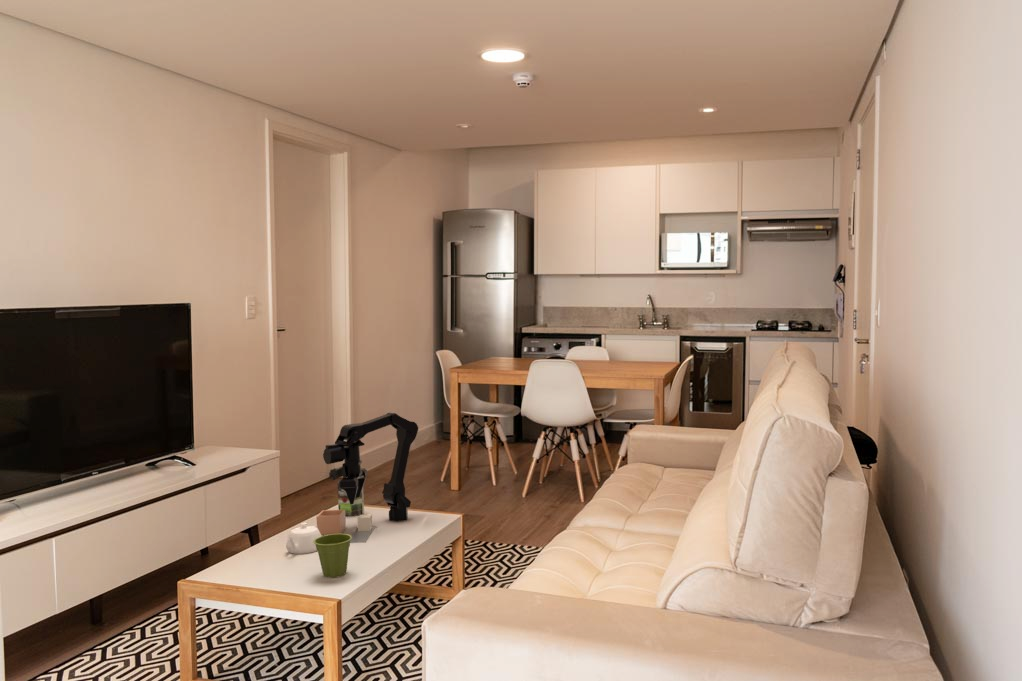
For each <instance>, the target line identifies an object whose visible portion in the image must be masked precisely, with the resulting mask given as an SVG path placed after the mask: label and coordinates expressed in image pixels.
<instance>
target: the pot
mask: <svg viewBox="0 0 1022 681" xmlns="http://www.w3.org/2000/svg"><path fill="white" fill-rule="evenodd" d="M346 521H347V520H346V517H345V510H339V509H328V510H327V509H325V510H324V509H322V510H321V511H320V512H319V513H318V514H317V515H316V526H317V527H318V530H319V531H320V534H321V536H325V535H330V534H343V532H344V531H345V529H346V528H347V525H346V523H347V522H346Z"/></svg>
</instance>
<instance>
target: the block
mask: <svg viewBox="0 0 1022 681" xmlns="http://www.w3.org/2000/svg"><path fill="white" fill-rule="evenodd" d="M356 521H357V528H358V531H371V529H372V528H373V527H374V526H373V514H369V513H368V514H364V515H359V516H357V520H356Z"/></svg>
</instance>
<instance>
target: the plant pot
mask: <svg viewBox="0 0 1022 681" xmlns="http://www.w3.org/2000/svg"><path fill="white" fill-rule="evenodd" d="M351 539H352V534H348V533H341V534H330V535H321V537H318V538H316V539H315V540H314V541H313V542H314V544H315V545H316V548H317V551H316V552H317V553H318V558H319V562H320V566H321V570H322V575H323V577H326V578H328V577H329V578H338V577H343V576H344V575H345V574H347V571H348V561H349V553H350V552H349V551H350V545H351V543H350V540H351Z"/></svg>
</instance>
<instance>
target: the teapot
mask: <svg viewBox="0 0 1022 681" xmlns="http://www.w3.org/2000/svg"><path fill="white" fill-rule="evenodd" d="M300 525H301V526H299V527H296V528H293V529H291V530H290V531H289V532H290V533H289V534H288V536H287V540H286V543H285V548H286V550H287V552H289V553H290V554H296V555H300V554H302V555H304V554H310V553H314V552H318V551H317V548H316V545H315V544H314V542H313V541H314V540H315V539H316V538H318V537H321V536H322V535H321V534H320V531H319V530H318V527H317V525H311V526H310V525H308V523H307V522H302V523H300Z"/></svg>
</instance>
